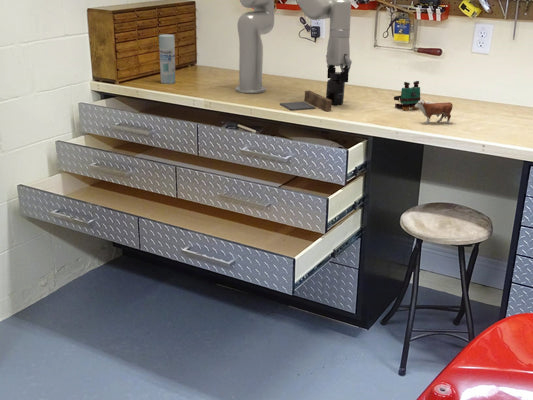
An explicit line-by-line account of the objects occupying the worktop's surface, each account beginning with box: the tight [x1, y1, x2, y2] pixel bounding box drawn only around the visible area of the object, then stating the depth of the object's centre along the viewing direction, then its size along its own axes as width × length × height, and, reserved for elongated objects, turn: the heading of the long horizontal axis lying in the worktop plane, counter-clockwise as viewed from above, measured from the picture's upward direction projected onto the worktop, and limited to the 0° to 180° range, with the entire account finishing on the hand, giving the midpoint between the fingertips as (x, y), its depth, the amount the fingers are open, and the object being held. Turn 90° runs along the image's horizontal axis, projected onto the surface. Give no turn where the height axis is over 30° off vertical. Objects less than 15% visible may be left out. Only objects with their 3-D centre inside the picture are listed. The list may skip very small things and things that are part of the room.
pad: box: [279, 101, 316, 111], centre depth 239 cm, size 10×10×1 cm
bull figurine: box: [415, 98, 453, 125], centre depth 221 cm, size 4×13×8 cm, turn 95°
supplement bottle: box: [325, 71, 346, 107], centre depth 244 cm, size 7×7×12 cm
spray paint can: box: [158, 33, 176, 85], centre depth 272 cm, size 6×6×20 cm
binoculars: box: [393, 80, 421, 111], centre depth 241 cm, size 9×11×10 cm
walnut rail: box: [303, 90, 333, 112], centre depth 241 cm, size 18×2×4 cm, turn 24°
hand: (337, 80), depth 242 cm, fingers open, 9 cm apart
